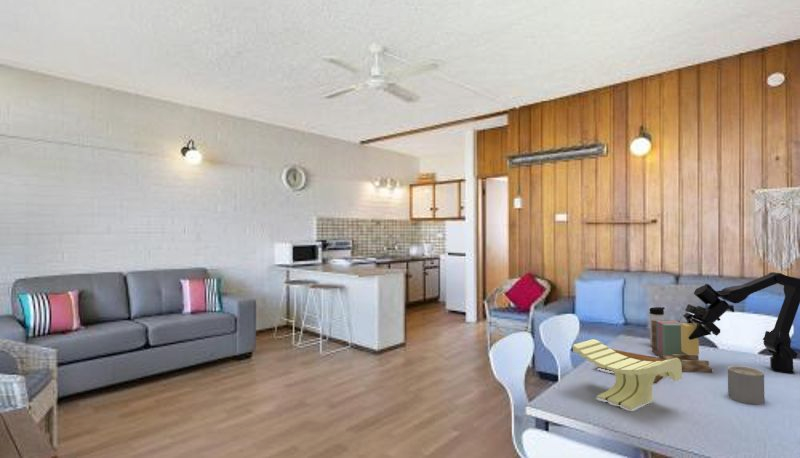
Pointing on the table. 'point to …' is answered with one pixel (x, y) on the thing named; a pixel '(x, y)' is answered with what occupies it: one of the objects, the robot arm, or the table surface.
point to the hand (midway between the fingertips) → (686, 337)
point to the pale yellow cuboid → (686, 343)
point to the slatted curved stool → (628, 373)
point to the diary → (642, 358)
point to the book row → (668, 337)
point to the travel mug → (655, 317)
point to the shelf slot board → (681, 355)
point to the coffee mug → (746, 384)
